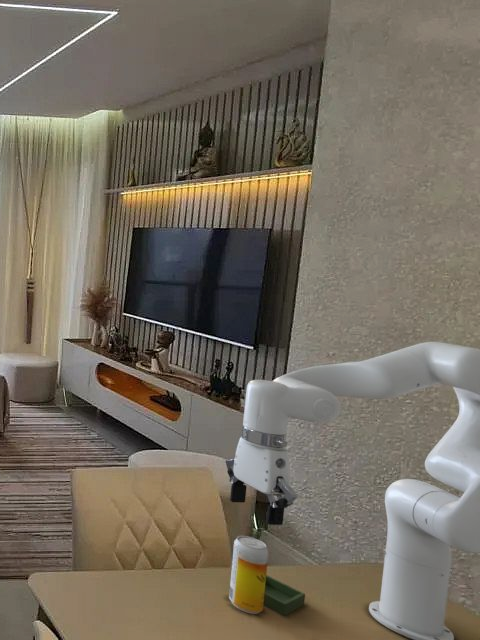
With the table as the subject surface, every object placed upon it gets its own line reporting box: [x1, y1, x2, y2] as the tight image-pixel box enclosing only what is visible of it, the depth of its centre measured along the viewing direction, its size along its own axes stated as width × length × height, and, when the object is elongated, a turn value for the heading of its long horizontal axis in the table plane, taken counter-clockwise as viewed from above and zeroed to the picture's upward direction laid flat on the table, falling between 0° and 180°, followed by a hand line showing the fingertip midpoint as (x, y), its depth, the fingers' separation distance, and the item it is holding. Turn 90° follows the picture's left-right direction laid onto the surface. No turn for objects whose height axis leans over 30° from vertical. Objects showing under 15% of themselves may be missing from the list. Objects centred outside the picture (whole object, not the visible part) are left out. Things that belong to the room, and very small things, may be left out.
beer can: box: [228, 535, 269, 615], centre depth 120 cm, size 6×6×15 cm
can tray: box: [263, 574, 306, 616], centre depth 123 cm, size 9×9×3 cm
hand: (255, 512), depth 118 cm, fingers open, 9 cm apart
